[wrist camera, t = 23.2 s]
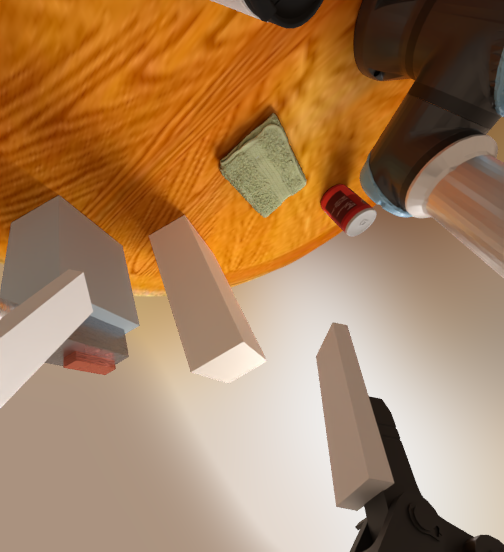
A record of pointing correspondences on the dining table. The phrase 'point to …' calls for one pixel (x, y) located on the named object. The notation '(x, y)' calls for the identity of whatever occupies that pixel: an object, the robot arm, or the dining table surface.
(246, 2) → the travel mug
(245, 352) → the tall stand
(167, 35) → the dining table surface
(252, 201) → the washcloth
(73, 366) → the grey piece
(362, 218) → the canned food
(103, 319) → the low stand
